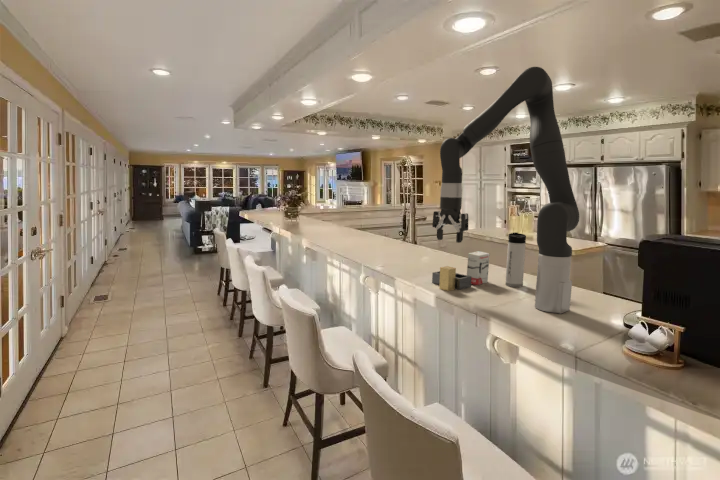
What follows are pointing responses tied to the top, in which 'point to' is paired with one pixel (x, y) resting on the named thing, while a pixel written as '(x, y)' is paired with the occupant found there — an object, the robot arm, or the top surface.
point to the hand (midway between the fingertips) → (449, 241)
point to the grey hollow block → (460, 280)
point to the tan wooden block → (447, 278)
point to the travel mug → (515, 260)
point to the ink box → (478, 267)
